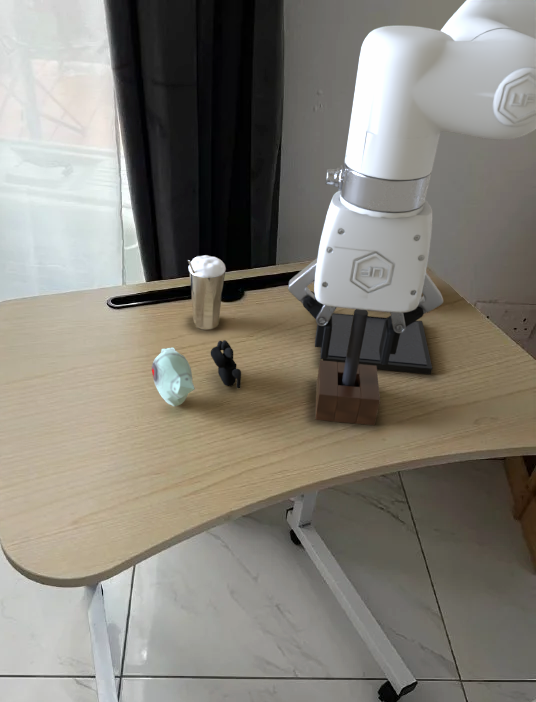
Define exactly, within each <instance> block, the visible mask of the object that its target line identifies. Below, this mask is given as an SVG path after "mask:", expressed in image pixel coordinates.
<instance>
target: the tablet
mask: <svg viewBox="0 0 536 702" xmlns="http://www.w3.org/2000/svg"><path fill="white" fill-rule="evenodd" d="M353 315H354V314H349V313H337V312H334V313H333V315H332V333H331V339H330V346H329V352H328V358H326V359H322V361H333V362H337V363H338V362H342V363H345V361H346V355H347V350H348V344H349V338H350V333H351V327H352V321H353ZM385 320H387V317H382V316H369V315H368V317H367V322H366V327H365V332H364V338H363V343H362V348H361V353H360V359H359V364H363V365H373V366H377V370H380V371H390V372H400V373H401V372H402V373H411V374H422V375H432V372H433V366H432V361H431V357H430V351H429V347H428V342H427V338H426V333H425V328H424V323H423V321H422V320H416V321H415V322H413V323H412V324H410V325H408V326H407V327H406V329H405V331H404V332H402V333H400V337H399V341H398V346H397V350H396V354H390V357H389V361H388V365H382V363H380V354H379V346H380V341H381V337H382V332H383V327H384V322H385Z"/></svg>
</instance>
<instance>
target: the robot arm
mask: <svg viewBox="0 0 536 702" xmlns="http://www.w3.org/2000/svg"><path fill="white" fill-rule="evenodd" d="M348 129H349V130H348V136H347V142H346V143H347V144H346V148H345V149H346V150H345V157H344V160H343V164H340V166H339V167H336V168H335V169H332V168H327V169H326V176H325V185H331V186H333V187H336V188H337V191H336V192H335V193H334V194H333V195H332V198H331V201H330V203H329V206H328V209H327V213H326V216H325V220H324V224H323V227H322V231H321V236H320V241H319V246H318V252H317V257H316V258H315V259H314V260H313V261H311V262H310V263H309V264H307V265H306V266H305V267H304V268H303V269H302V270H300V271H299V272H298V273H296V274H295V275H294V276H293V277H292V278H291V279H289V281H288V285H287V286H288V287H287V288H288V291H289V293H290V294H291V295H292V296H293V297H294V298H295V299H297V301H298V302H300V303H301V304H302V306H303V308H305V310H306V311H307V312H308V313H309V314H310V315H311V316H312V317H313V318H314V319H315V323H316V331H315V340H314V347H315V348H320V360H323V359H326V358H328V352H329V346H330V339H331V333H332V315H333V313H335V311H336V310H337V308H340V309H349V310H356V309H359V310H367V311H371V312H383V313H389V314H390V315H389V316H387V317H386V318H387V320H385V322H384V327H383V332H382V337H381V341H380V346H379V354H380V363H382V365H388V361H389V357H390V354H396V350H397V346H398V341H399V337H400V333H402V332H404V331H405V329H406V327H407V326H408V325H410V324H412V323H413V322H415V321H419V319H421V318H422V317H423V316H424V314H426V313H427V314H428V313H430V312H431V311H433V310H435V309H436V308H438V307H440V306H441V305H443V303H444V298H443V295H442V293H441V291H440V289H439V288H438V287H437V286H436V283H434V281H433V280H432V278H431V277H430V275H429V273H428V272H427V269H428V262H429V255H430V249H431V240H432V231H433V208H432V206H431V205H430V203H429V202H428V200H426V198H427V193H428V190H429V189H428V188H429V185H430V180H431V175H432V171H433V167H434V163H435V159H436V154H437V150H438V145H439V141H440V136H441V133H443V132H445V133H450V134H458V135H463V136H467V137H473V138H478V139H482V140H483V139H484V140H490V141H506V140H514V139H518V138H521V137H524V136H526V135H529V134H531V133H532V132H534V131H535V130H536V0H465V1H464V3H462V4H461V6H459V8H458V9H457V10H456V11H455V12H454V13H453V15H452V16H450V18H449V19H448V20H447V21H446V23H444V25H443V27H442V28H441V29H440V30H439V29H434V28H429V27H424V26H417V25H385V26H381V27H377V28H374V29H373V30H371V31H370V32H369V33H368V34H367V35H366V37H365V38H364V40H363V42H362V44H361V46H360V52H359V59H358V66H357V72H356V79H355V87H354V94H353V100H352V108H351V114H350V122H349V128H348ZM312 283H314V285H313V290H314V291H312V290H311V289H310V288H309V287H308V286H309V285H310V284H312Z"/></svg>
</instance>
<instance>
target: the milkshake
mask: <svg viewBox="0 0 536 702" xmlns="http://www.w3.org/2000/svg"><path fill="white" fill-rule="evenodd" d="M187 263H188V264H189V265H188V273H189V274H188V276H189V282H190V283H189V284H190V294H191V295H190V296H191V307H192V320H193V324H194V326H195V327H196V328H198V329H200V330H203V331H205V330H207V331H208V330H214V329H215V328H217V327H218V325H219V322H220V315H221V306H222V297H223V291H224V283H225V276H226V270H227V268H226V264H225V263H224V262H223V260H221V259H220V258H218V257H216V256H211V255H208V254H205V255H197V256H196V257H194V258H192V260H189V259H187Z"/></svg>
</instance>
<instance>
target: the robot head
mask: <svg viewBox="0 0 536 702" xmlns="http://www.w3.org/2000/svg"><path fill="white" fill-rule="evenodd" d="M151 373H152V378H153V382H154V386H155V388H156V390H157V392H158V394H159V395H160V396H161V398H162V399H163V400H164V401H165V403H166V404H168V405H171V406H172V407H178V406H180V405H182V404H183V403H184V402H185V401H186V400H187V398H188V395H189V394H190V393H192V392H194V391H195V390H196V388H195V385H194V383H193V373H192V367H191V365H190V364H189V362H188V360H187V358H186V357H185V356H184V355H183V354H181V353H180V352H178V351H177V350H176V348H174V347H167V348H161V350H160V353H159V354H158V355H157V356H155V358H154V359H153V362H152V364H151Z"/></svg>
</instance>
